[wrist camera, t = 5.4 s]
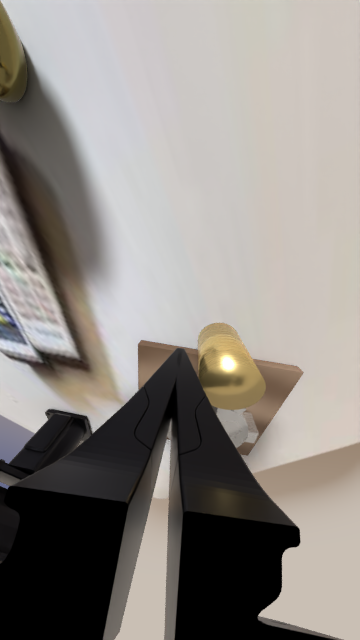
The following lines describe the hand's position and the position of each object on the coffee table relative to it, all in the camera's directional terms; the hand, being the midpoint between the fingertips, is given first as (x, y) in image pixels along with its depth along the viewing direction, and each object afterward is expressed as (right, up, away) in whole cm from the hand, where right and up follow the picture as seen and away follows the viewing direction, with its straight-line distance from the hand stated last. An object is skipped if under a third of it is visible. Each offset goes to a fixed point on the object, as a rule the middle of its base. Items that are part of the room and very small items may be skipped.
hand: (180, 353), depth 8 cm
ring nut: (+3, -6, +6) cm, 9 cm away
